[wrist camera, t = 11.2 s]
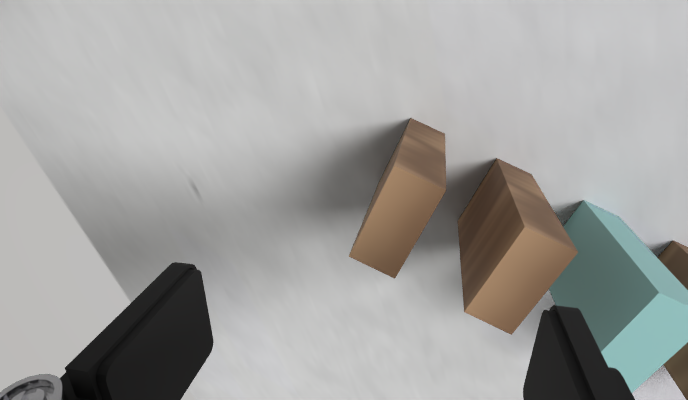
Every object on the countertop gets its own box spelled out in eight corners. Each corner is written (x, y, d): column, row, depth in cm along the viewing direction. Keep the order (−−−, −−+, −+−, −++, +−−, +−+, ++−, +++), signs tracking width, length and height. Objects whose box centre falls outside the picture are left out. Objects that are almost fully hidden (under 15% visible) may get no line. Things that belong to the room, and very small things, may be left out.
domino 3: (537, 260, 28) (582, 370, 19) (583, 200, 26) (659, 292, 17) (569, 275, 28) (630, 393, 19) (618, 216, 26) (714, 318, 17)
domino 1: (378, 183, 28) (348, 256, 19) (410, 118, 26) (394, 165, 17) (409, 198, 28) (394, 278, 19) (444, 134, 26) (446, 190, 17)
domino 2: (457, 221, 28) (464, 311, 19) (496, 158, 26) (524, 226, 17) (489, 236, 28) (511, 334, 19) (531, 174, 26) (578, 252, 17)
